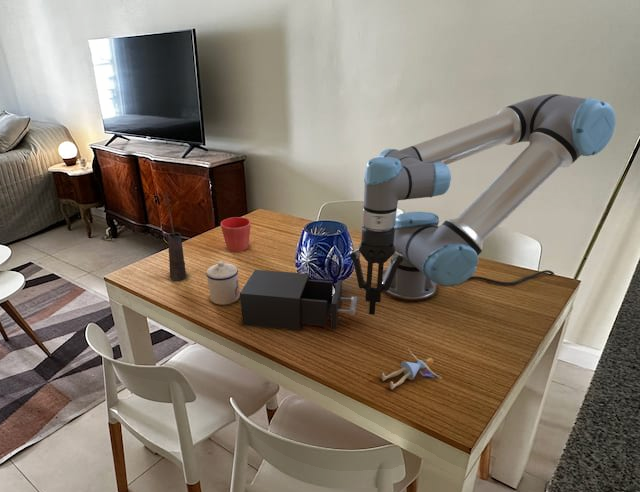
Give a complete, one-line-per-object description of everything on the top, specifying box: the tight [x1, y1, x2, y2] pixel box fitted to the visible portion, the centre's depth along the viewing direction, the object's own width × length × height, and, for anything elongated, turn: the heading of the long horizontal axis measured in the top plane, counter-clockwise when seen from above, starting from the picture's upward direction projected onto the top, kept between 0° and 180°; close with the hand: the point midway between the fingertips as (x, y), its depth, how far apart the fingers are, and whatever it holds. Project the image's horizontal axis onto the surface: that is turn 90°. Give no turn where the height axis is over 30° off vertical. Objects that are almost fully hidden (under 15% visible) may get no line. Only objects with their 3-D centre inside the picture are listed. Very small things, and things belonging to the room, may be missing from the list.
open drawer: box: [300, 278, 358, 331], centre depth 119 cm, size 19×12×8 cm, turn 76°
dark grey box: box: [239, 269, 310, 331], centre depth 122 cm, size 16×14×10 cm
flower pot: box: [220, 216, 252, 252], centre depth 162 cm, size 11×11×10 cm
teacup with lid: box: [205, 260, 240, 306], centre depth 131 cm, size 12×9×12 cm
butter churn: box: [165, 190, 187, 281], centre depth 138 cm, size 9×10×28 cm
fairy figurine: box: [381, 347, 443, 390], centre depth 99 cm, size 12×5×12 cm
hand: (372, 311), depth 117 cm, fingers closed
